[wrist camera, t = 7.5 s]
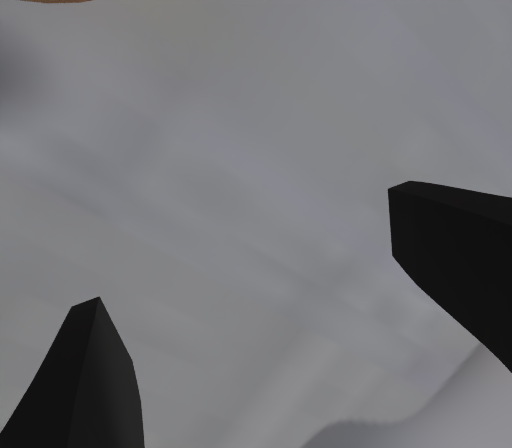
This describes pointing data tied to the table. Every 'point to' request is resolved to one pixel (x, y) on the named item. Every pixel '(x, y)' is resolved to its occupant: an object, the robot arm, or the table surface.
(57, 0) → the lid
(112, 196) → the table surface
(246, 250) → the table surface
